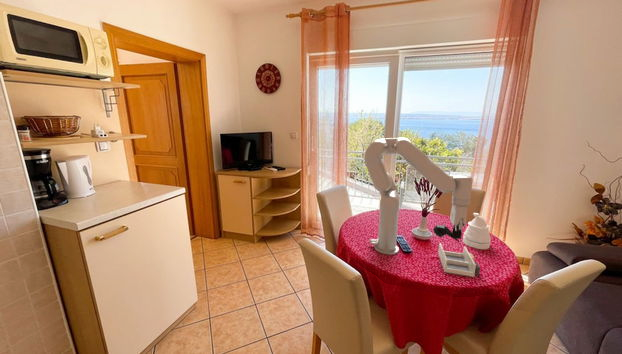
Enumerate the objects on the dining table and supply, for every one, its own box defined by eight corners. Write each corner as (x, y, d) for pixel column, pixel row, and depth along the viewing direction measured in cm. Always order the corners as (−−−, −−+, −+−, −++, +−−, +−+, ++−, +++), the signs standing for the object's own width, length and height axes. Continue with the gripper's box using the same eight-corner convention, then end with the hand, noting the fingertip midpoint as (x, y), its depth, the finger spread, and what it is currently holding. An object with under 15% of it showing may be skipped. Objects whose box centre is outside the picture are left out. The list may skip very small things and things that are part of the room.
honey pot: (463, 246, 139) (467, 215, 135) (462, 237, 150) (465, 208, 146) (491, 251, 133) (496, 220, 129) (487, 241, 144) (492, 212, 140)
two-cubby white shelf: (444, 272, 114) (446, 260, 113) (438, 253, 130) (439, 243, 129) (473, 277, 110) (475, 264, 109) (463, 257, 127) (465, 246, 125)
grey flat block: (475, 275, 112) (477, 267, 111) (472, 269, 116) (473, 261, 116) (478, 275, 111) (480, 267, 111) (475, 269, 116) (476, 262, 115)
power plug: (459, 244, 119) (438, 226, 122) (447, 251, 124) (428, 233, 127) (461, 238, 123) (441, 220, 126) (450, 244, 128) (431, 227, 131)
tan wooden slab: (470, 265, 120) (471, 257, 119) (467, 260, 124) (468, 252, 124) (473, 265, 119) (474, 258, 119) (470, 260, 124) (471, 253, 123)
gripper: (448, 196, 126) (444, 229, 130) (455, 205, 112) (451, 243, 115) (465, 197, 124) (461, 231, 128) (474, 207, 109) (469, 245, 113)
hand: (456, 236), depth 122 cm, fingers closed on power plug, 2 cm apart
